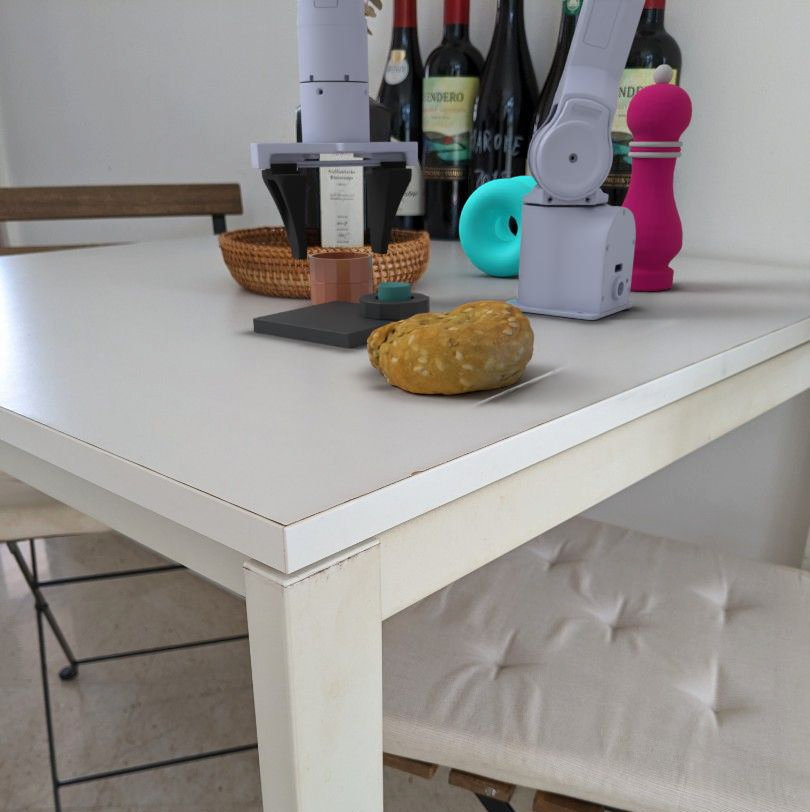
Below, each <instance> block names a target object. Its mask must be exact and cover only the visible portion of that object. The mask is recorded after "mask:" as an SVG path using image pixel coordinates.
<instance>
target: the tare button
mask: <svg viewBox="0 0 810 812" xmlns="http://www.w3.org/2000/svg"><path fill="white" fill-rule="evenodd" d="M411 286H412V285H411V283H409V282H405V281H385V282H380V283H378V284H377V293H378V300H384V301H403V300H410V299H411V292H412V291H411V289H412V288H411Z"/></svg>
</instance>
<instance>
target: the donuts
mask: <svg viewBox="0 0 810 812" xmlns="http://www.w3.org/2000/svg"><path fill="white" fill-rule="evenodd" d="M535 185H537V183H536V181H535V180H534V179H533V177H532V175H518V176H514V177H510V178H496V179H492V180H490V181H487V182H485V183H483V184H482V185H480V186H479V187H478V188H477V189H475V190H474V191H473V192H472V194H470V196H469V197H468V199H467V200H466V202H465V204H464V205H463V208H462V210H461V214H460V217H459V221H458V222H459V223H458V235H459V241H460V244H461V248H462V250H463V252H464V254H465V256H466V257H467V259H468V260H469V262H470V263H471V264H472V265H473V266H474V267H476V268H477V269H478V270H479V271H481V272H483V273H485V274H487V275H489V276H492V277H498V278H507V277H508V278H509V277H513V276H517V275H519V262H520V242H521V222H522V204H523V203H525V202H523V196H525V195H527V194H529V193H530V192H531V191H532V189H533V187H534V186H535ZM511 217H512V218H514V220H515V222H516V224H517V233H516V235H515V234H514V233H513V232H512V231H511V228H510V218H511Z"/></svg>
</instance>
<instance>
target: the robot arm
mask: <svg viewBox="0 0 810 812" xmlns="http://www.w3.org/2000/svg"><path fill="white" fill-rule="evenodd" d="M295 2H296V7H297V8H296V9H297V17H296V22H295V23H296V40H297V41H296V43H297V59H298V62H297V63H298V80H299V97H300V98H299V99H300V100H299V102H300V120H301V137H302V138H301V139H302V142H250V156H251V157H250V158H251V169H257V170H261V178H262V181H263V183H264V185H265V187H266V189H267V190H268V192H269V194H270V196H271V198H272V200H273V202H274V204H275V206H276V209H277V211H278V213H279V216H280V218H281V221H282V224H283V227H284V229H285V232H286V233H285V234H286V237H287V239H288V243H289V247H290V252H291V257H292V258H293V259H296V260H303V261H304V260H308V238H307V237H308V236H307V227H306V226H307V225H306V197H307V186H308V176H307V175H305V174H303V173H301V170H299V169H300V168H301V169H303V168H344V167H345V168H347V167H349V168H350V167H353V168H354V167H372V168H371V169H369V170H366V171H365V172H364V178H365V182H366V188H367V195H368V201H369V203H368V205H369V214H370V217H369V219H370V224H369V227H370V229H369V230H370V231H369V232H370V233H369V234H370V237H369V238H370V249H371V253H374V254H377V255H381V256H382V255H388V251H389V245H390V240H391V234H392V231H393V227H394V223H395V221H396V220H395V219H396V216H397V214H398V210H399V208H400V205H401V202H402V200H403V198H404V195H405V194H406V191H407V189H408V188H409V185H410V184H411V182H412V176H413V169H412V168H409V167H417V166H418V165H419V161H418V160H419V142H418V141H371V134H370V132H371V131H370V129H371V128H370V124H371V123H370V84H369V41H368V20H367V17H366V14H365V13H366V9H365V8H366V7H365V3H366V2H365V0H295ZM645 3H646V0H583V1H582V5H581V8H580V12H579V14H578V15H579V16H578V19H577V22H576V26H575V30H574V34H573V36H572V40H571V44H570V47H569V49H568V54H567V58H566V60H565V65H564V68H563V71H562V74H561V77H560V80H559V82H558V86H557V89H556V92H555V94H554V97H553V101H552V104H551V108H550V111H549V114H548V116H547V117H546V119H545V120H544V122H543V123H542V124H541V126H540V127H539V128H538V129H537V130H536V131H535V133H534V135H532V136H533V137H532V138H531V139H530V142H529V146H528V150H527V166H528V171H529V172H530V176H532V177H533V179H534V180H535V181H536V183H537V185H535V186H534V187H533V189H532V191H531V192H530V193H529V194H527V195H525V196H523V202H525V203H523V204H522V222H521V242H520V262H519V274H518V284H517V298H513V299H510V300H506V301H505V302H506V303H508V304H510V305H513V306H515V307H518V308H519V309H521V311H522V313H530V314H537V315H538V314H540V315H544V316H545V315H547V316H552V317H553V316H554V317H561V318H571V319H578V320H585V321H596V320H599V319H601V318H605V317H607V316H610V315H612V314H616V313H618V312H621V311H624V310H628V309H630V308H632V307H633V302H632V301H630V296H631V290H630V288H631V278H632V268H633V259H634V249H635V239H636V227H635V220H634V216H633V213H632V212H631V211H630V210H629V209H628V208H625V207H622V206H619V205H615V206H614V205H611V204H608V202H609V194H608V193H605V192H603V190H602V188H600V187H601V186H602V185H603V184H604V182H605V181H606V180H607V178H608V176H609V174H610V172H611V168H612V165H613V159H614V147H613V141H612V128H613V127H612V126H613V123H614V120H615V119H614V118H615V115H616V112H617V108H618V103H619V102H618V101H619V94H620V86H621V81H622V77H623V74H624V71H625V68H626V65H627V62H628V59H629V55H630V52H631V49H632V45H633V42H634V39H635V35H636V32H637V29H638V25H639V22H640V19H641V16H642V14H643V13H642V12H643V9H644V6H645ZM325 154H326V155H328V154H329V155H330V154H331V155H335V154H337V155H339V154H343V155H344V154H352V157H353V158H354V159H346V160H341V159H340V160H339V159H338V160H318V159H320V157H321V155H325ZM355 158H357V159H355ZM298 168H299V169H298Z"/></svg>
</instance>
